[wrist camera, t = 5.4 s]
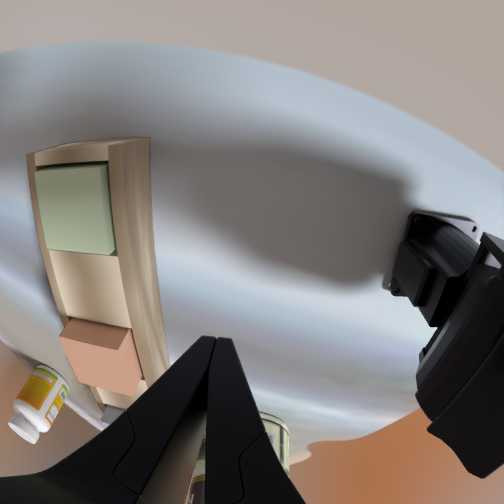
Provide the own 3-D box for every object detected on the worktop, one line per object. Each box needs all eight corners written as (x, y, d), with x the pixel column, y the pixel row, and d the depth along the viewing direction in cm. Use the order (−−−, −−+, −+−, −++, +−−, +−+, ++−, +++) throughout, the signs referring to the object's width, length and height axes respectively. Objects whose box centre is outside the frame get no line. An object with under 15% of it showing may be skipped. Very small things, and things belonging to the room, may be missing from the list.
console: (149, 137, 17) (120, 144, 13) (181, 419, 30) (174, 447, 26) (62, 144, 17) (26, 154, 14) (124, 407, 30) (114, 432, 26)
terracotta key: (138, 313, 21) (117, 350, 17) (148, 360, 23) (133, 396, 19) (83, 304, 21) (58, 336, 17) (97, 349, 23) (79, 381, 19)
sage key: (131, 155, 17) (99, 167, 14) (135, 228, 19) (109, 255, 16) (70, 159, 17) (34, 172, 14) (77, 225, 19) (46, 248, 16)
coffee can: (210, 448, 33) (195, 541, 20) (192, 407, 29) (166, 525, 16) (289, 449, 32) (290, 546, 19) (290, 408, 28) (292, 535, 15)
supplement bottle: (31, 366, 29) (-3, 417, 21) (49, 361, 28) (12, 419, 19) (57, 393, 31) (29, 445, 23) (77, 391, 30) (47, 449, 21)
